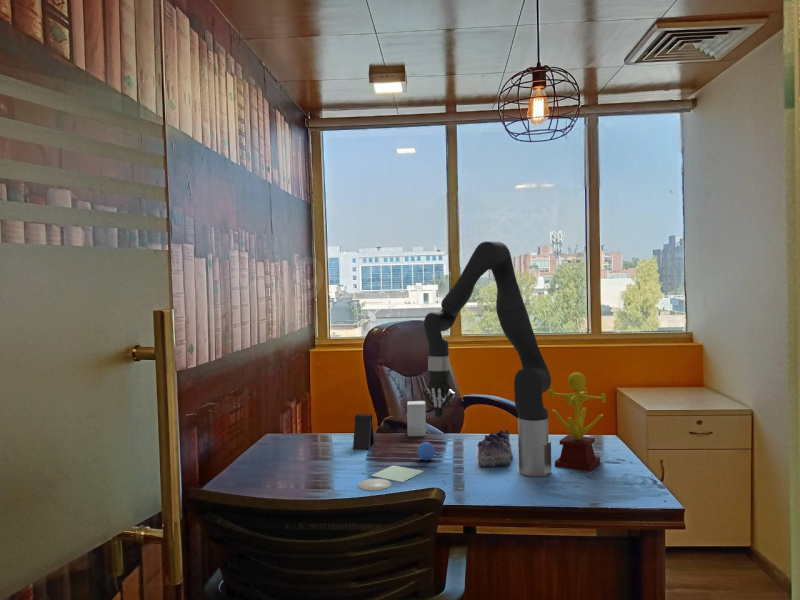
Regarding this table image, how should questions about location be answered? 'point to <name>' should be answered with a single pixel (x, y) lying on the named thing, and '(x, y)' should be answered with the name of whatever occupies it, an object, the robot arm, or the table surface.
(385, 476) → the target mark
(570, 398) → the trophy
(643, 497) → the table surface
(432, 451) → the ball
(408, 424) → the supplement box
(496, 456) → the geode
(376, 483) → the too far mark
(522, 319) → the robot arm
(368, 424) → the phone stand
